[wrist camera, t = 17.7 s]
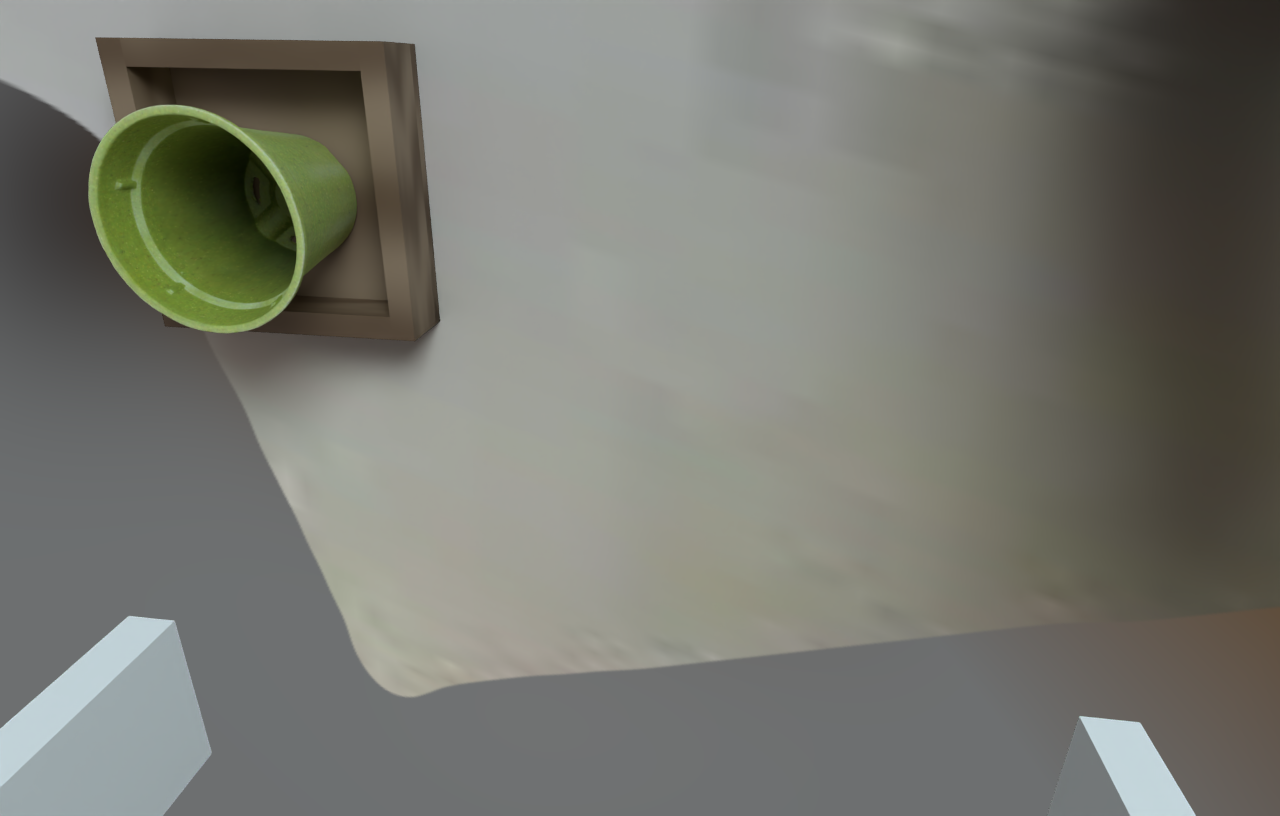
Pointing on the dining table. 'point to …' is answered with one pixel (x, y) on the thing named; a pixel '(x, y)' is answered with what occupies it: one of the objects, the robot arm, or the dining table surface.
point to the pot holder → (348, 127)
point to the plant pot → (215, 214)
